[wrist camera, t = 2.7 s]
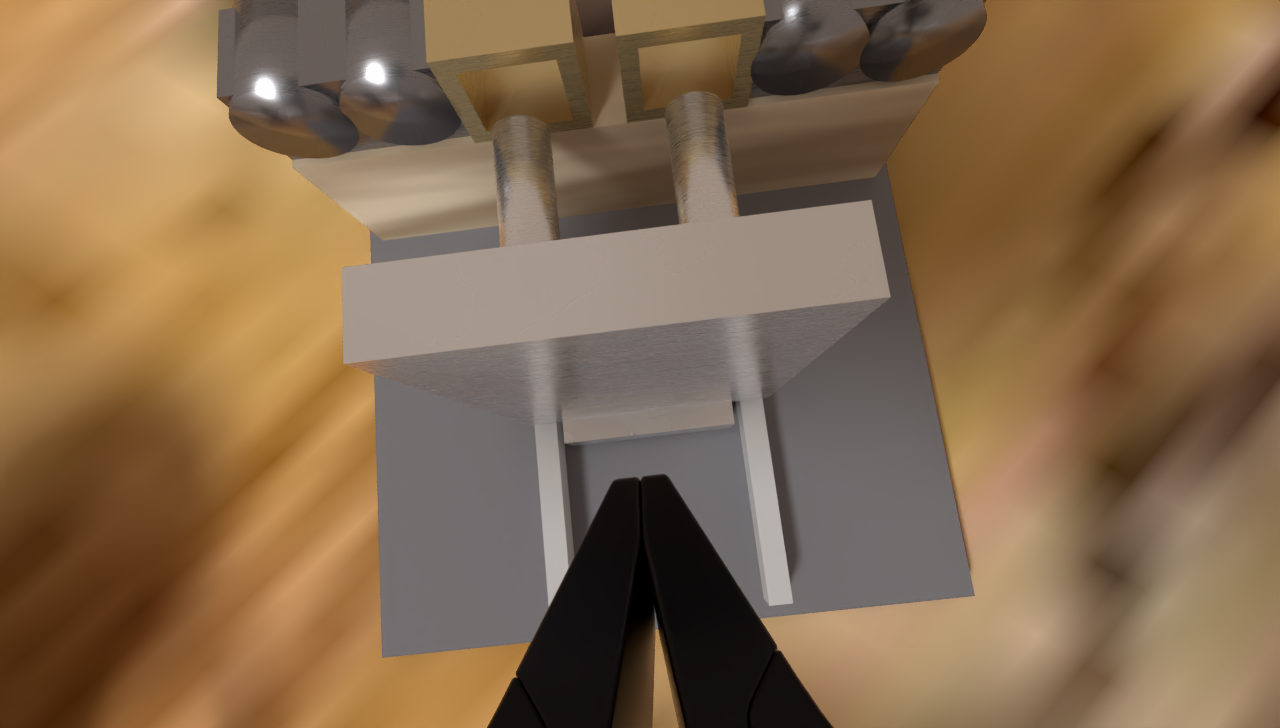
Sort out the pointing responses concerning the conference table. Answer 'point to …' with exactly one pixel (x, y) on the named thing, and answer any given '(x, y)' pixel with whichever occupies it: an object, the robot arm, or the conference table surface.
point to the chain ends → (547, 61)
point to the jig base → (676, 472)
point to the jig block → (625, 155)
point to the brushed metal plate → (620, 298)
